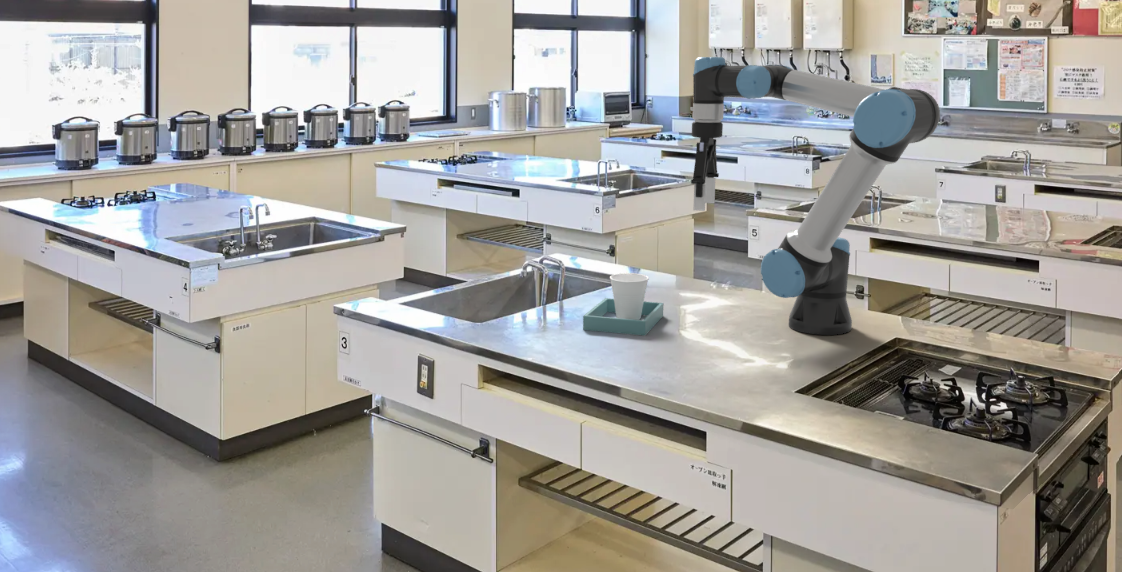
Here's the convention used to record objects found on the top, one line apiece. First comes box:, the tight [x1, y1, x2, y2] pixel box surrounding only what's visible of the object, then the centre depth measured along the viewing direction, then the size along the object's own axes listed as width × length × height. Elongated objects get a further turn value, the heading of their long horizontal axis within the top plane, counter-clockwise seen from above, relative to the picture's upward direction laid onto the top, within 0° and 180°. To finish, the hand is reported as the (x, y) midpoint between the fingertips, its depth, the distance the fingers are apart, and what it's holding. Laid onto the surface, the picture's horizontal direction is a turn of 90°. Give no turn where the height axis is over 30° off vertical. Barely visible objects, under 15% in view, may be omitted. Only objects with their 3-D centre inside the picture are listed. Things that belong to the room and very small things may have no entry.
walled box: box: [582, 297, 665, 336], centre depth 250 cm, size 16×20×4 cm
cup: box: [609, 272, 650, 320], centre depth 252 cm, size 10×10×11 cm
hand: (704, 206), depth 249 cm, fingers open, 13 cm apart
